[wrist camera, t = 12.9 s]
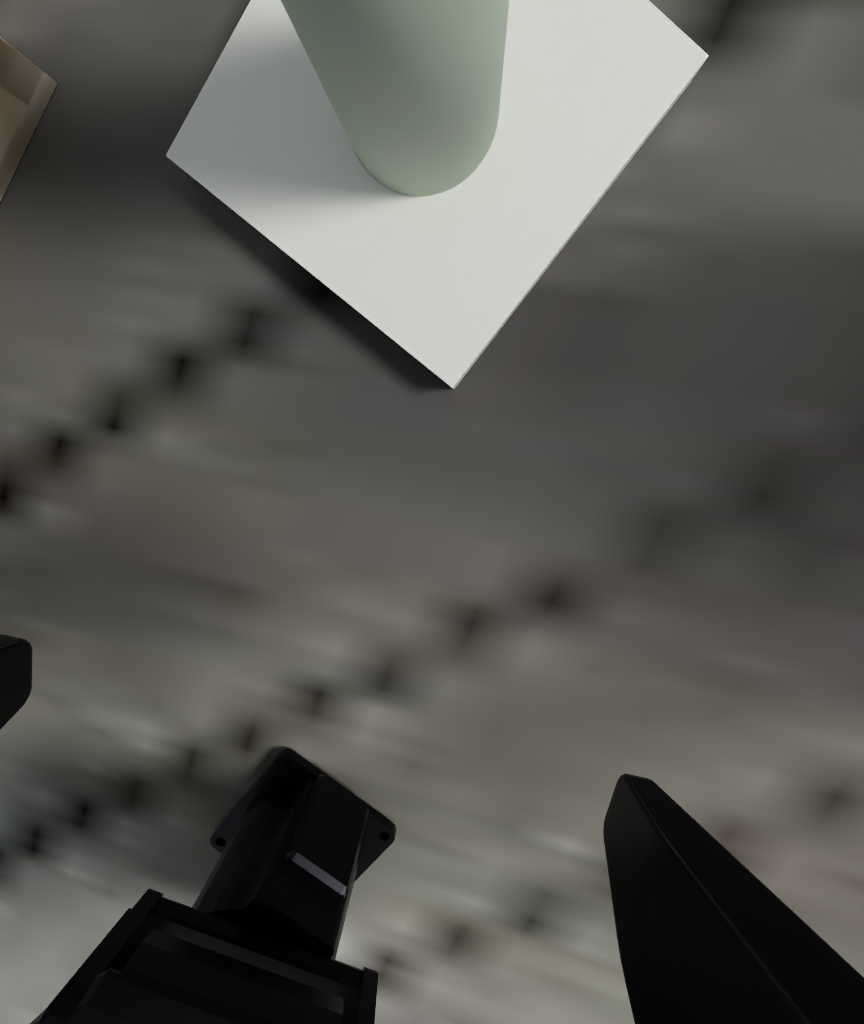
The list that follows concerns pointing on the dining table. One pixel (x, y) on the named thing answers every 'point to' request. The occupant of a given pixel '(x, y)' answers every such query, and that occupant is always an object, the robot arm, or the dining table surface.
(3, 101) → the frame
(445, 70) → the round block
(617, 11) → the board
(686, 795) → the dining table surface
